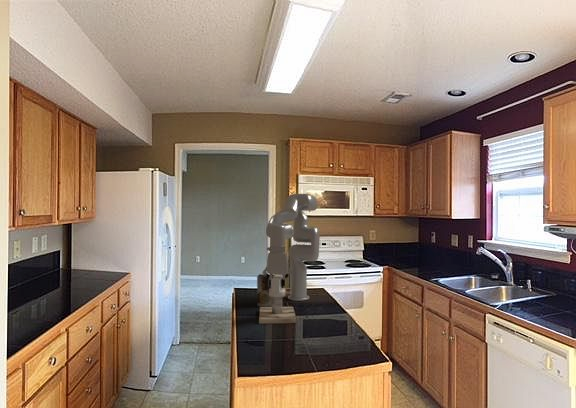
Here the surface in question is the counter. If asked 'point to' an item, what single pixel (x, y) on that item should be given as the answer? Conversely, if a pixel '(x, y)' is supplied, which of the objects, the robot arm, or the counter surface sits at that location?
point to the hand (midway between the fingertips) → (277, 287)
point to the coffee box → (263, 290)
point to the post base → (272, 317)
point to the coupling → (277, 287)
